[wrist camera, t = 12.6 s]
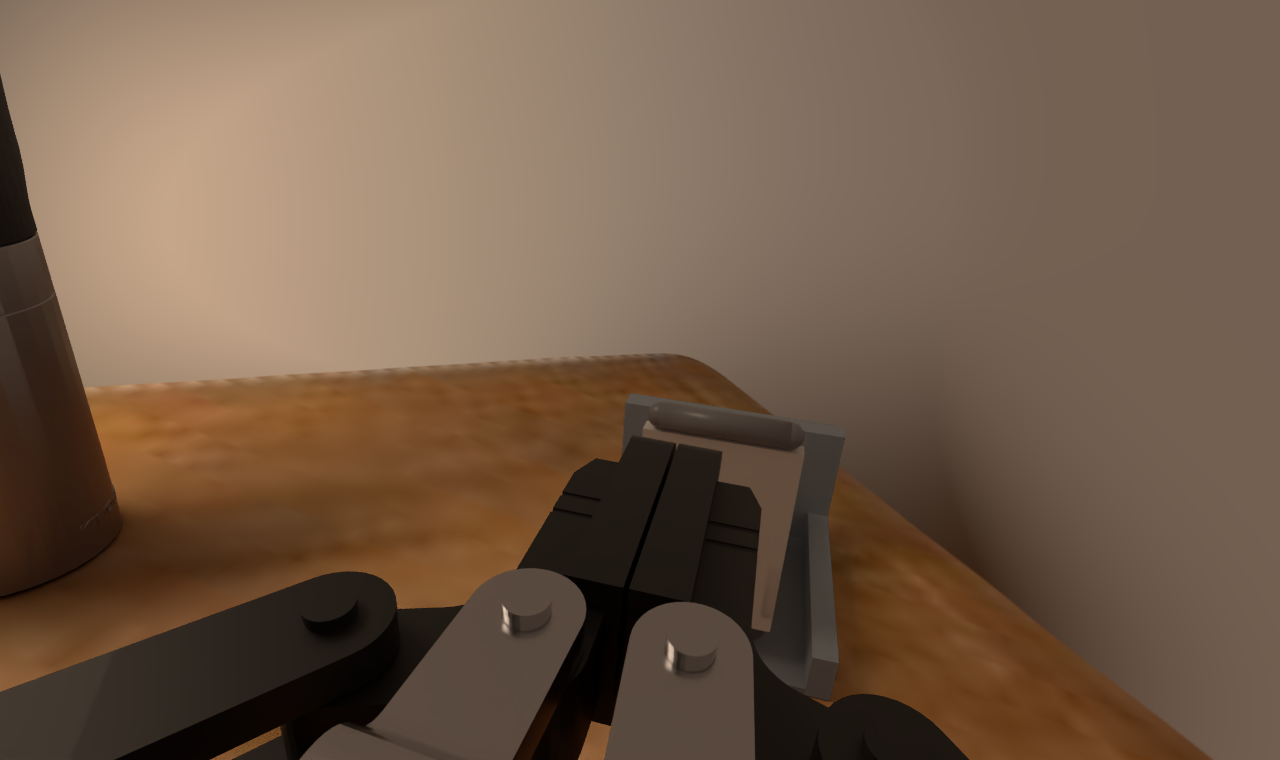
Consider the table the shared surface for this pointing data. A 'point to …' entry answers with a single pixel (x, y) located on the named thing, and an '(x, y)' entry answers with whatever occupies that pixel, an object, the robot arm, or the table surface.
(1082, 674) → the table surface
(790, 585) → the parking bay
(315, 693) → the robot arm
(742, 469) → the toy cart
